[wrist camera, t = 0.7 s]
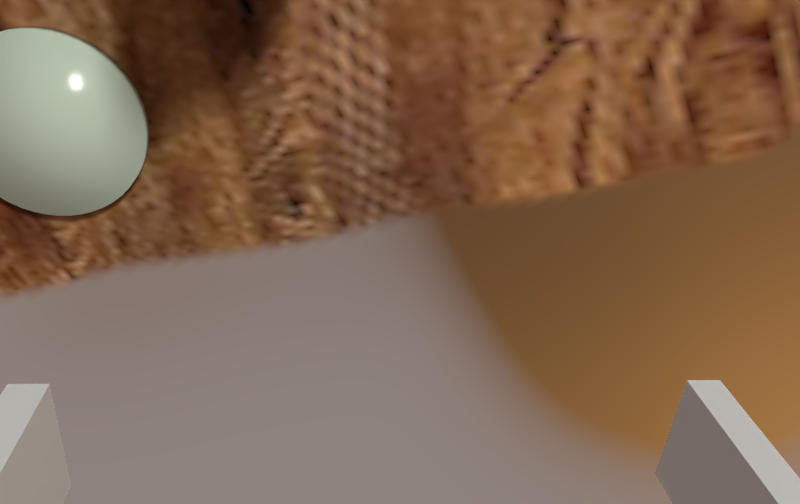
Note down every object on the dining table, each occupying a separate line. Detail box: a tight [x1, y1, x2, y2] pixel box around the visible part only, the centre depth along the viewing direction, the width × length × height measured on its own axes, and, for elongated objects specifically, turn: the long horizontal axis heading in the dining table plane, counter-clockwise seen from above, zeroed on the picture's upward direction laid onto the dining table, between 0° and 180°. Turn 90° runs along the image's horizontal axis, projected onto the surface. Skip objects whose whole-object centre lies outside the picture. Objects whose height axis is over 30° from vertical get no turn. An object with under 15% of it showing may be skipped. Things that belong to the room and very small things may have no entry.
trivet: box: [0, 27, 149, 216], centre depth 36 cm, size 10×10×1 cm
